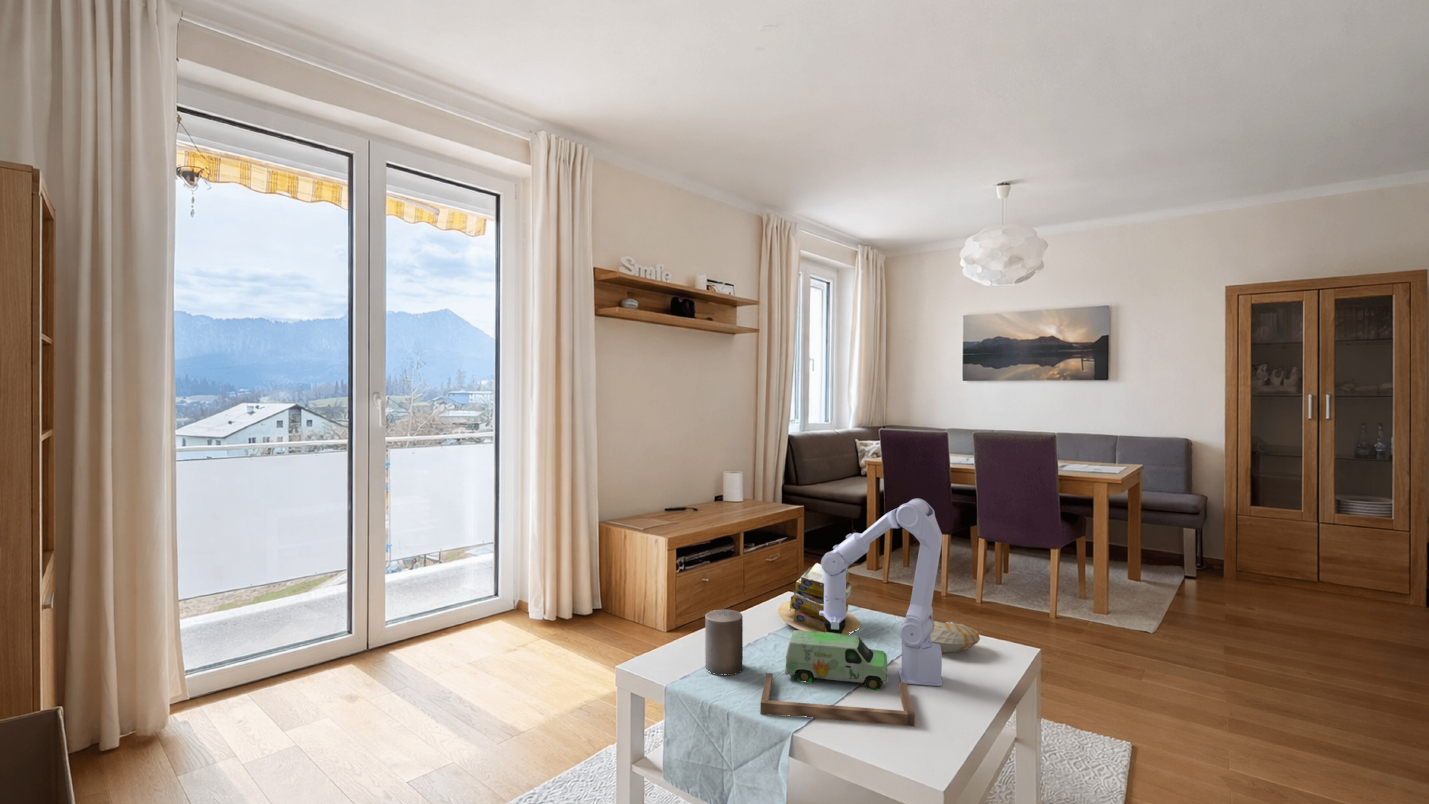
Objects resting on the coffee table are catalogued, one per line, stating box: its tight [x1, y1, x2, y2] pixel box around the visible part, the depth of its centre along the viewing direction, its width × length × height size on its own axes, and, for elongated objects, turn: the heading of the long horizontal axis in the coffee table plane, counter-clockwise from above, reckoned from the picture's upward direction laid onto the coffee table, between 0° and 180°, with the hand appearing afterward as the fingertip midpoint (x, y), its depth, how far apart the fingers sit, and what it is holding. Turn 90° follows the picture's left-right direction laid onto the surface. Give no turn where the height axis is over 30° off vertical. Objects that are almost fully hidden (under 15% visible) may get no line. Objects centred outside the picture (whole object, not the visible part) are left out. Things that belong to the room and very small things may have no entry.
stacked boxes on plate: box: [777, 562, 861, 635], centre depth 212 cm, size 25×25×17 cm
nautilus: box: [900, 620, 981, 653], centre depth 194 cm, size 8×22×15 cm
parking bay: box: [759, 672, 916, 727], centre depth 160 cm, size 33×16×2 cm, turn 81°
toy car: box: [784, 629, 889, 691], centre depth 174 cm, size 11×25×10 cm, turn 77°
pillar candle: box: [704, 609, 744, 676], centre depth 179 cm, size 10×10×15 cm
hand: (834, 647), depth 184 cm, fingers closed
